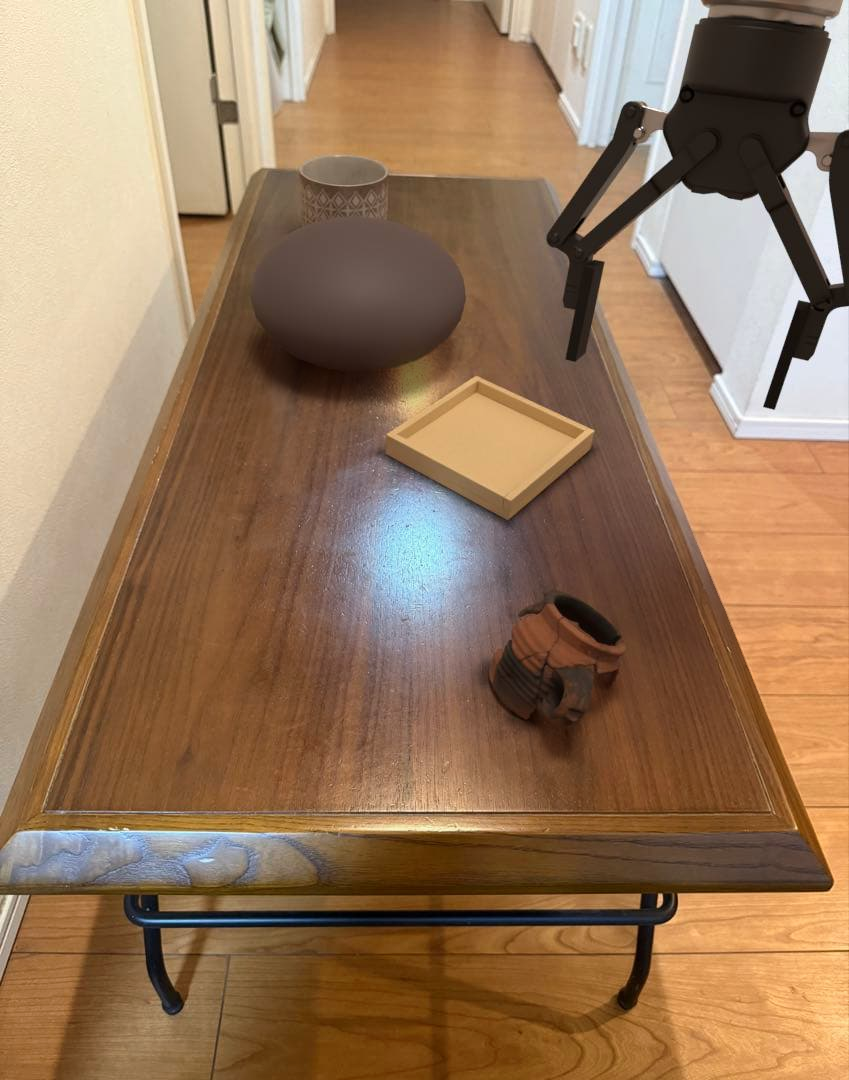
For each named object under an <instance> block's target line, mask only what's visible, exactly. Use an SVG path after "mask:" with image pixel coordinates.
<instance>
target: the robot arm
mask: <svg viewBox="0 0 849 1080" xmlns="http://www.w3.org/2000/svg"><path fill="white" fill-rule="evenodd" d="M700 1H701V4H702V5H703V6H704V7H705V8H707V9H708V12H707V17H702V18H700V19H699V21H698V23H696V24H694V28H693V31H692V36H691V41H690V45H689V49H688V53H687V56H686V57H687V58H686V61H685V66H684V70H683V73H682V74H683V75H682V79H681V83H680V88H679V92H678V96H677V99H676V101H675V103H674V104H673V106H672V108H671V109H670V110H669V111H666V110H662V109H659V108H655V107H651V106H648V104H647V103H646V102H645V101H640V100H630V101H627V102H626V103H624V104H623V105H622V107H621V110H620V113H619V115H618V119H617V121H616V122H617V123H616V126H615V128H614V132H613V135H612V139H611V140H610V142H609V143H608V144H607V146H606V147H605V149H604V151H603V152H602V153H601V154H600V156H599V158H598V159H597V161H596V162H595V163H594V164H593V166H592V168H591V170H590V171H589V172H588V174H587V175H586V177H585V178H584V180H583V181H582V183H581V184H580V186H579V187H578V188H577V190H576V191H575V192H574V194H573V196H572V197H571V199H570V200H569V201H568V202H567V204H566V206H565V208H564V209H563V210H562V212H561V213H560V214H559V216H558V218H557V219H556V220H555V222H554V223H553V225H552V226H551V227H550V229H549V231H547V234H546V237H545V240H546V243H547V245H548V246H549V247H551V248H553V249H554V248H555V249H557V250H559V251H560V252H562V253H564V254H565V255H566V257H567V259H568V262H569V263H568V269H567V275H566V280H565V286H564V291H563V294H562V295H563V296H562V304H563V308H565V309H570V310H574V313H573V319H572V322H571V328H570V333H569V338H568V343H567V348H566V354H565V358H564V360H565V361H570V362H574V363H576V362H578V361H579V359H581V358H582V357H583V356H584V355H586V353H587V348H588V343H589V339H590V334H591V330H592V325H593V320H594V315H595V310H596V306H597V300H598V296H599V291H600V287H601V281H602V278H603V272H604V267H605V263H606V262H605V261H603V260H599V259H594V257H595V255H597V253H598V252H599V251H601V249H603V248H604V247H605V246H606V245H608V244H609V243H610V242H611V241H612V240H614V238H616V237H617V236H618V235H619V234H620V233H622V232H623V231H624V230H625V229H627V228H628V227H629V226H630V225H631V224H632V223H633V222H634V221H636V220H637V219H638V218H639V217H641V216H642V215H643V214H644V213H646V212H647V211H648V210H649V209H650V208H651V207H652V206H654V205H655V204H656V203H658V201H659V200H661V199H662V198H663V197H664V196H665V195H666V194H668V193H669V192H670V191H672V190H673V189H674V188H675V187H677V186H678V185H679V184H680V183H682V184H683V185H684V187H686V189H688V190H689V191H690V193H692V194H699V195H710V194H719V195H721V196H722V197H725V198H727V199H729V200H735V201H740V202H743V200H748V199H751V198H754V197H756V196H757V195H758V196H759V198H760V200H761V202H762V204H763V207H764V209H765V211H766V212H767V213H768V215H769V218H770V220H771V221H772V223H773V226H774V228H775V230H776V232H777V235H778V236H779V239H780V241H781V243H782V245H783V247H784V249H785V251H786V253H787V256H788V258H789V260H790V262H791V265H792V267H793V269H794V271H795V274H796V275H797V277H798V280H799V282H800V284H801V286H802V288H803V290H804V292H805V294H806V297H807V299H808V301H805V300H800V299H798V300H797V303H796V307H795V308H794V312H793V316H792V319H791V322H790V324H789V327H788V330H787V333H786V336H785V339H784V342H783V344H782V345H783V346H782V348H781V352H780V354H779V357H778V360H777V364H776V366H775V370H774V372H773V375H772V378H771V381H770V384H769V387H768V390H767V394H766V397H765V398H764V399H765V400H764V402H763V405H762V407H763V408H766V409H769V410H774V411H775V410H776V408H777V404H778V402H779V399H780V396H781V392H782V390H783V386H784V385H785V380H786V378H787V375H788V373H789V370H790V366H791V364H792V361H793V359H798V360H801V361H802V360H803V361H807V362H809V360H810V359H811V358H812V357H813V356H814V355H815V352H816V351H817V347H818V345H819V341H820V338H821V336H822V333H823V330H824V327H825V325H826V322H827V318H828V317H829V314H830V313H832V311H834V310H836V309H839V308H845V307H849V128H848V129H845V130H842V131H811V130H810V125H809V117H810V111H811V108H812V104H813V103H814V98H815V95H816V92H817V89H818V85H819V82H820V79H821V75H822V73H823V68H824V65H825V62H826V58H827V56H828V52H829V49H830V46H831V42H832V38H830V37H829V36H830V32H829V31H827V30H825V29H826V25H825V23H826V21H831V20H833V19H835V18H836V17H838V16H839V15H840V12H841V9H842V6H843V3H844V0H700ZM657 131H662V135H663V137H664V140H665V143H666V146H667V148H668V150H669V153H670V156H671V159H670V160H669V161H668V162H667V163H665V164H664V165H663V166H662V167H661V168H660V169H659V170H658V171H657V172H655V173H654V174H653V175H652V176H651V177H650V178H649V179H648V180H647V181H646V182H645V183H643V185H642V186H640V187H639V188H638V189H637V190H636V191H635V192H633V194H631V195H630V196H629V197H628V198H626V199H625V200H624V201H623V202H622V203H621V204H620V205H618V206H617V207H616V208H615V209H614V210H613V211H611V212H610V213H609V214H608V215H607V216H606V217H604V219H602V220H601V221H600V222H599V223H598V224H597V225H596V226H594V227H593V228H591V230H590V231H589V232H588V233H586V234H585V235H584V236H583V235H582V234H580V233H578V231H579V230H580V228H581V227H582V226H583V224H584V223H585V222H586V220H587V219H588V217H589V216H590V215H591V213H592V212H593V210H594V209H595V208H596V206H597V205H598V203H599V202H600V201H601V199H602V197H603V196H604V195H605V194H606V192H607V190H608V189H609V187H610V186H611V185H612V183H613V182H614V181H615V179H616V178H617V176H618V175H619V173H620V172H621V171H622V169H624V167H625V165H626V163H627V162H628V161H629V159H630V158H631V157H632V155H633V153H634V152H635V150H636V148H637V147H638V145H641V144H645V143H648V142H649V141H650V140H651V138H652V137H653V135H654V134H655V133H656V132H657ZM805 152H810V153H812V154H813V155H814V156H815V163H816V167H817V168H818V170H820V171H821V172H826V173H827V172H828V188H829V197H830V203H831V209H832V216H833V223H834V229H835V236H836V242H837V250H838V255H839V263H840V269H841V276H842V282H840V283H833V284H831V281H830V279H829V277H828V275H827V273H826V270H825V269H824V266H823V264H822V262H821V259H820V257H819V255H818V253H817V251H816V248H815V247H814V245H813V242H812V240H811V238H810V235H809V234H808V231H807V229H806V227H805V224H804V222H803V220H802V218H801V216H800V214H799V211H798V210H797V207H796V205H795V203H794V201H793V197H792V194H791V193H790V190H789V188H788V186H787V184H786V181H785V179H784V177H783V175H782V174H783V173H784V172H785V171H786V170H787V169H788V168H790V167H791V166H792V165H793V164H794V163H795V162H796V161H798V159H800V158H801V157H802V156H803V155H804V154H805Z"/></svg>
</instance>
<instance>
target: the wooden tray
mask: <svg viewBox="0 0 849 1080" xmlns="http://www.w3.org/2000/svg"><path fill="white" fill-rule="evenodd" d="M594 435H595V430H594V429H592V428H590V427H588V426H585V425H583V424H581V423H580V422H577V421H575V420H572V419H571V418H569V417H567V416H565V415H562V414H560V413H558V412H555V411H554V410H552V409H549V408H547V407H545V406H543V405H541V404H539V403H536V402H534V401H531V400H530V399H527V398H525V397H523V396H521V395H519V394H517V393H514V392H512V391H510V390H508V389H506V388H504V387H501V386H499V385H497V384H495V383H493V382H490V381H489V380H486V379H484V378H482V377H480V376H478V375H474V376H473V377H471V378H470V379H469V380H467V381H465V382H464V383H462V384H461V385H459V386H458V387H456V388H455V389H453V390H451V391H450V392H449V393H447V394H445V395H443V397H441V398H440V399H437V401H435V402H433V403H432V404H430V405H429V406H427V407H426V408H424V409H423V410H421V411H420V412H417V414H415V415H414V416H412V417H410V418H409V419H407V420H406V421H404V422H403V423H400V424H399V425H398V426H397V427H395V428H394V429H392V430H391V431H389V432H387V433H386V434H385V455H387V456H388V457H391V458H392V459H394V460H396V461H398V462H400V463H401V464H404V465H405V466H407V467H409V468H411V469H413V470H414V471H416V472H418V473H419V474H422V475H423V476H426V477H427V478H429V479H431V480H433V481H435V482H436V483H438V484H440V485H442V486H444V487H445V488H447V489H449V490H451V491H453V492H455V493H457V494H458V495H460V496H462V497H464V498H465V499H468V500H470V501H471V502H473V503H475V504H477V505H479V506H480V507H482V508H484V509H486V510H488V511H490V512H491V513H493V514H495V515H497V516H498V517H501V518H502V519H504V520H506V521H509V520H510V519H511V518H512V517H513V516H515V515H516V514H518V512H520V511H521V510H522V509H523V508H524V507H525V506H527V504H529V503H530V502H532V500H534V498H536V497H537V496H538V495H539V494H540V493H541V492H543V491H544V490H545V489H546V488H547V487H549V486H550V485H551V484H552V483H553V482H554V481H555V480H556V479H558V478H559V477H560V476H561V475H562V474H564V473H565V472H566V471H567V470H569V469H570V468H571V467H572V466H573V465H574V464H576V462H578V461H579V460H580V459H581V458H582V457H584V456H585V455H586V454H587V453H588V452H589V451H591V449H592V444H593V439H594Z"/></svg>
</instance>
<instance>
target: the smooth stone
mask: <svg viewBox="0 0 849 1080" xmlns="http://www.w3.org/2000/svg"><path fill="white" fill-rule="evenodd" d="M249 297H250V301H251V305H252V308H253V312H254V316H255V319H256V321H257V322H258V323H259V325H260V326H261V327H262V329H263V331H265V333H266V334H267V336H268V338H270V339H271V340H272V341H273V342H274V343H276V344H277V345H278V346H279V347H281V349H283V350H284V351H286V352H287V353H289V354H291V355H292V356H294V357H296V358H298V359H299V360H302V361H305V362H308V363H310V364H313V365H316V366H319V367H322V368H326V369H330V370H333V371H342V372H350V373H369V372H370V373H371V372H381V371H386V370H390V369H395V368H399V367H401V366H404V365H407V364H410V363H414V362H416V361H419V360H420V359H422V358H425V357H426V356H428V355H430V354H431V353H433V352H434V351H435V350H436V349H438V348H439V347H440V346H441V345H442V344H444V343H445V342H446V341H447V340H448V339H449V338H450V336H451V335H452V333H454V331H455V330H456V328H457V327H458V325H459V323H460V322H461V320H462V316H463V313H464V309H465V305H466V301H467V295H466V287H465V280H464V277H463V274H462V272H461V271H460V268H459V266H458V264H457V263H456V261H455V260H454V258H453V257H452V256H451V255H450V253H449V252H448V251H447V250H446V249H445V248H444V247H443V246H442V245H440V244H439V243H438V241H435V240H434V239H433V238H431V237H430V236H428V235H427V234H425V233H424V232H421V231H420V230H418V229H417V228H413V227H411V226H409V225H405V224H402V223H400V222H396V221H392V220H389V219H388V220H385V219H380V218H373V217H357V216H352V217H339V218H332V219H327V220H323V221H319V222H315V223H312V224H309V225H306V226H303V227H302V226H301V227H299V228H297V229H295V230H293V231H291V232H290V233H288V234H286V235H285V236H283V237H282V238H280V239H279V240H278V241H276V242H275V243H273V245H271V246H270V248H269V249H268V250H267V251H266V252H265V253H264V254H263V256H262V257H261V258H260V260H259V262H258V263H257V266H256V268H255V270H254V272H253V274H252V279H251V284H250V294H249Z"/></svg>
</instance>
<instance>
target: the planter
mask: <svg viewBox="0 0 849 1080" xmlns="http://www.w3.org/2000/svg"><path fill="white" fill-rule="evenodd" d="M389 171H390V170H389V168H388V167H387V166H386V165H385V164H384V163H383V162H381V161H380V160H377V159H375V158H372V157H368V156H362V155H357V154H345V153H337V154H335V153H334V154H323V155H319V156H315V157H310V158H309V159H306V160H304V161H303V162H302V163H301V164H300V165H299V167H298V177H299V179H298V181H299V198H300V218H301V221H300V222H301V227H303V226H306V225H309V224H312V223H315V222H319V221H323V220H327V219H332V218H339V217H352V216H357V217H373V218H380V219H385V220H389V219H388V215H389V176H390V175H389Z"/></svg>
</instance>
